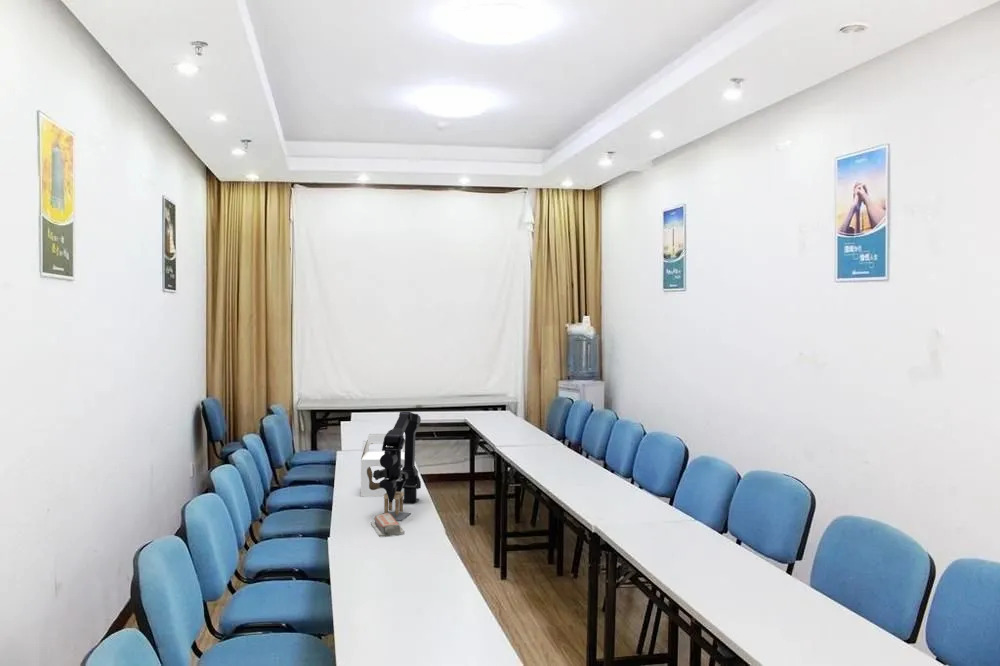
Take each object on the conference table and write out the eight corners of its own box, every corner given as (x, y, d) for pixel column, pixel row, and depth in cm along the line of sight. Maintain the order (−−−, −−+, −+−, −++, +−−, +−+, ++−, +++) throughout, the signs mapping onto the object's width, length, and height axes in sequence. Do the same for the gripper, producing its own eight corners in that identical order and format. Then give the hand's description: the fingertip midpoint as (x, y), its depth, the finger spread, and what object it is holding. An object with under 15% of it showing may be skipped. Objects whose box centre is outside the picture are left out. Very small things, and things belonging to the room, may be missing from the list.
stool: (389, 509, 311) (389, 491, 311) (403, 510, 310) (403, 492, 309) (383, 513, 305) (383, 494, 304) (398, 515, 303) (398, 495, 303)
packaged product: (405, 523, 283) (379, 525, 280) (405, 535, 283) (379, 538, 280) (394, 510, 300) (370, 513, 297) (394, 522, 300) (370, 525, 297)
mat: (386, 512, 314) (386, 510, 314) (410, 513, 311) (410, 512, 311) (376, 519, 303) (376, 518, 303) (401, 521, 301) (401, 520, 301)
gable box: (410, 489, 353) (410, 431, 352) (408, 496, 340) (409, 436, 339) (363, 489, 351) (363, 431, 350) (360, 497, 338) (360, 436, 337)
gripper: (384, 457, 317) (384, 493, 318) (367, 466, 299) (367, 504, 300) (408, 458, 315) (408, 494, 315) (392, 468, 297) (392, 506, 297)
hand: (393, 500), depth 307 cm, fingers closed on stool, 6 cm apart
